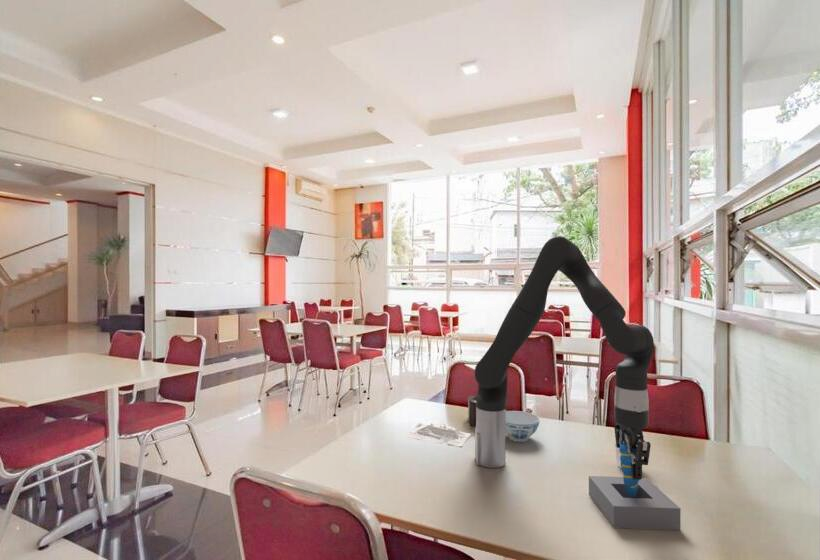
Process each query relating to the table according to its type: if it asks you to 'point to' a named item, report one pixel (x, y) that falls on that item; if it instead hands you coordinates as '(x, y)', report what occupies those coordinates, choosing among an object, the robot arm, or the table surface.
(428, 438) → the terrain model
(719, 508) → the table surface
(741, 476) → the table surface
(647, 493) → the socket block
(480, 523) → the table surface
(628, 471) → the ornament
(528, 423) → the chinaware
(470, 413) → the pepper mill
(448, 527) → the table surface
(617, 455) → the white short cylinder
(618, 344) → the robot arm
